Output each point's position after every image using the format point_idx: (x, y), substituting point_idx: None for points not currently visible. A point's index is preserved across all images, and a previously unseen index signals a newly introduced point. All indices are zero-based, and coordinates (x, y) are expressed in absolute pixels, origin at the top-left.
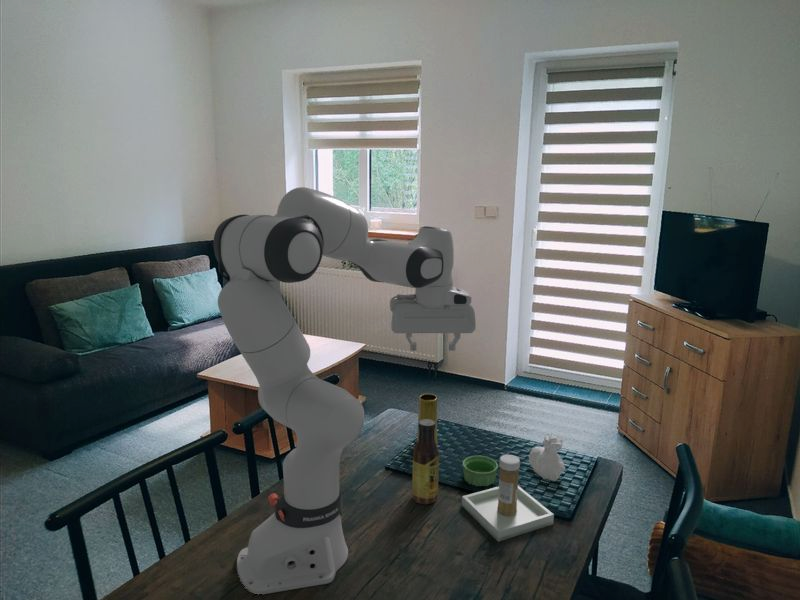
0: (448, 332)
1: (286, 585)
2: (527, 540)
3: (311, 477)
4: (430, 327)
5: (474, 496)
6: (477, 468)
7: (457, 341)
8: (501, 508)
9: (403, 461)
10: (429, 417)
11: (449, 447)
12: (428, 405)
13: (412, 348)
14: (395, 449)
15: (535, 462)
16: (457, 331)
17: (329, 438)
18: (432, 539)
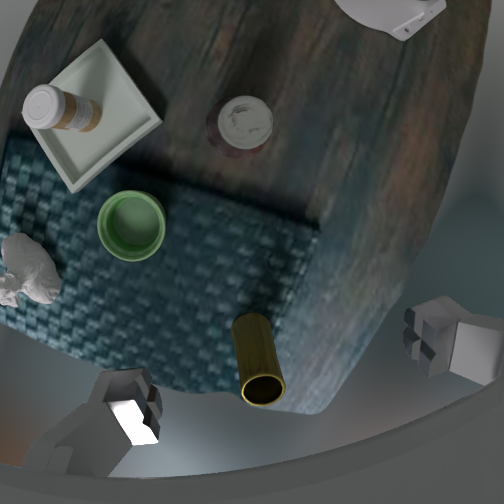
0: (110, 482)
1: None
2: (66, 61)
3: None
4: (411, 498)
5: (138, 129)
6: (142, 246)
7: (65, 418)
8: (92, 102)
9: (288, 255)
10: (252, 350)
11: (207, 322)
12: (259, 367)
13: (438, 306)
14: (307, 295)
15: (46, 270)
16: (14, 478)
17: None
18: (209, 24)
